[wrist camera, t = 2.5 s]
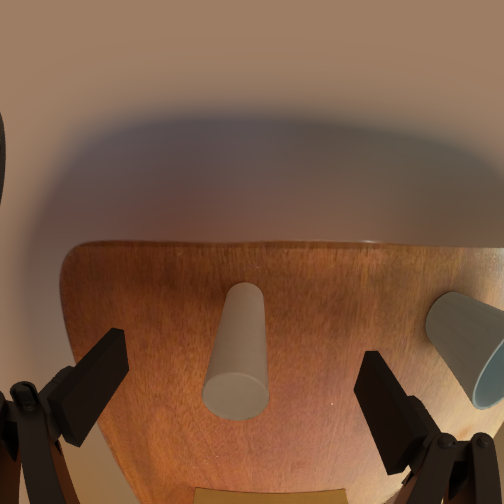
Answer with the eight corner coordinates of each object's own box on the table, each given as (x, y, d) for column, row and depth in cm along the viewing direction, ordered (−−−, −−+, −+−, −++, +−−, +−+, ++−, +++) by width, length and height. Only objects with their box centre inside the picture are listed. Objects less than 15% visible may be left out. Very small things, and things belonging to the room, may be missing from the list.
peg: (225, 314, 24) (201, 417, 12) (227, 280, 23) (201, 369, 11) (261, 317, 24) (265, 423, 12) (265, 283, 23) (273, 375, 11)
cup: (482, 289, 23) (547, 329, 13) (452, 353, 25) (504, 407, 14) (436, 271, 23) (510, 316, 12) (403, 345, 24) (456, 411, 14)
